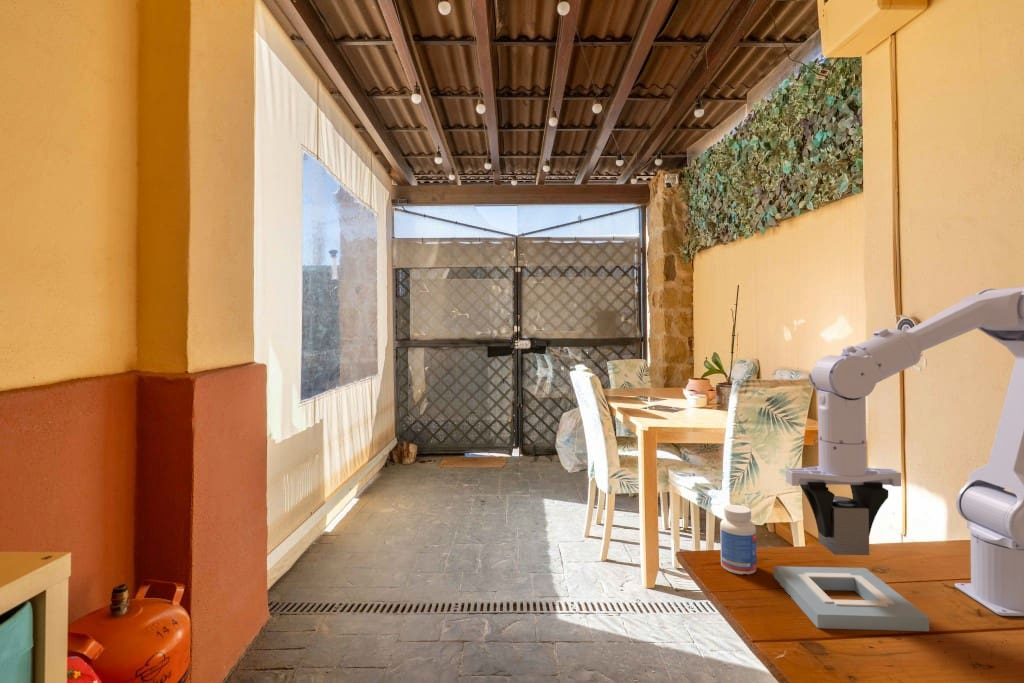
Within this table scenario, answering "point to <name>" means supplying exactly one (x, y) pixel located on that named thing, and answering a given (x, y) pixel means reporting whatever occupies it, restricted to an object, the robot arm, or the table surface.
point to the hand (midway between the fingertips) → (843, 534)
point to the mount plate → (869, 614)
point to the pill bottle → (738, 540)
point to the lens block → (847, 528)
